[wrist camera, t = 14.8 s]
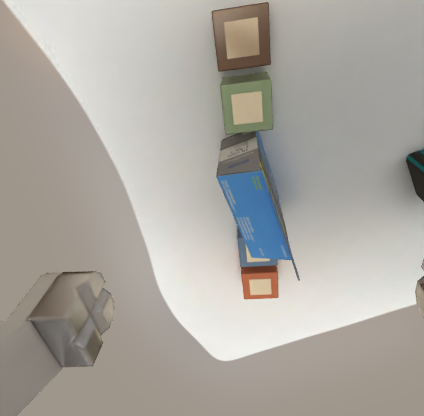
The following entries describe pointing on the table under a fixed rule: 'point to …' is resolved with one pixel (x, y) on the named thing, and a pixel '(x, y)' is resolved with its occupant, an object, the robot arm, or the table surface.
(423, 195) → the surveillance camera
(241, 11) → the walnut block
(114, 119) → the table surface
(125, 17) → the table surface
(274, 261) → the blue block
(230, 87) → the sage block
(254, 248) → the blue printed carton
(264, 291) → the terracotta block
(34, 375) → the robot arm
